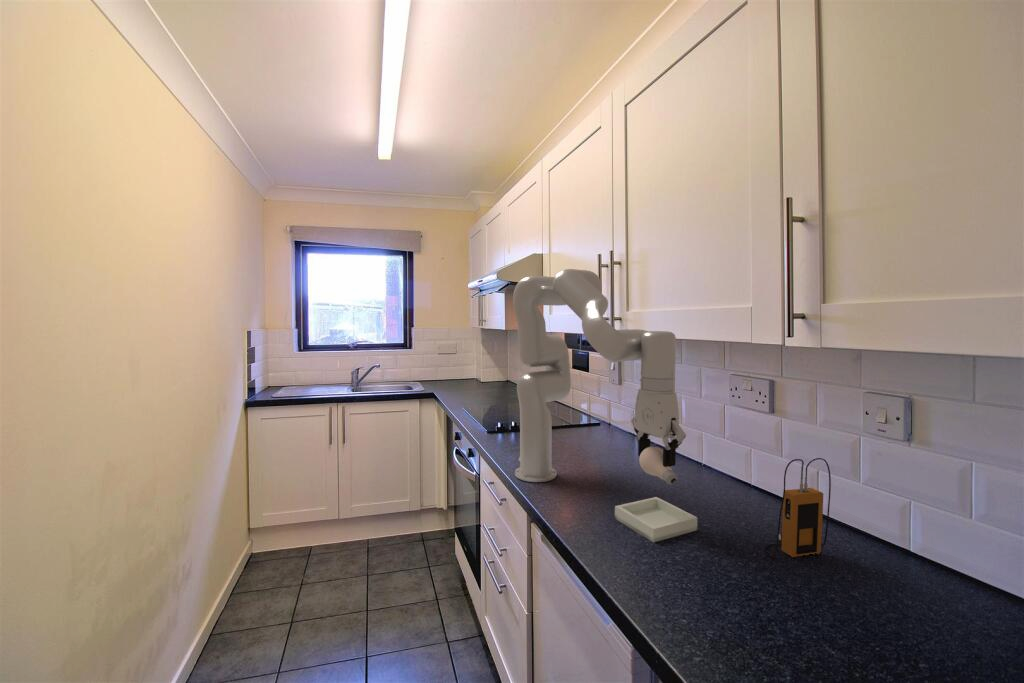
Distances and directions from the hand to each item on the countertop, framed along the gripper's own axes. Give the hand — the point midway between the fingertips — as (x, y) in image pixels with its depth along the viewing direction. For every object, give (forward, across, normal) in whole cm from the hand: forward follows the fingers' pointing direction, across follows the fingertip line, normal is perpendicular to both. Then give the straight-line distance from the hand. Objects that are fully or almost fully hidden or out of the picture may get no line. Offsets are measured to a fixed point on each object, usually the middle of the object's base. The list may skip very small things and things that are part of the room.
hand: (656, 460), depth 106 cm
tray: (+15, 0, 0) cm, 15 cm away
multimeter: (+16, +19, +18) cm, 31 cm away
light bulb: (+4, +2, -1) cm, 4 cm away
